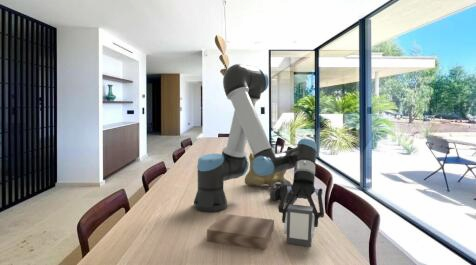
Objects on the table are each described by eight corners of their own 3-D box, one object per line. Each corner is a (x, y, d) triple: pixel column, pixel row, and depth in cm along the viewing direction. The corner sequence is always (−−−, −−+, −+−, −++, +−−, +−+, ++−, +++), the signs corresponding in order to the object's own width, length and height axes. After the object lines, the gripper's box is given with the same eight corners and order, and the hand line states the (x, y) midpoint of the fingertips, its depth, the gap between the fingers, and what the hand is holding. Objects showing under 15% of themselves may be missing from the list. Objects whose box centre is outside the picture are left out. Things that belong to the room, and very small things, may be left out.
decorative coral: (232, 161, 185) (265, 136, 182) (253, 186, 192) (285, 162, 189) (237, 181, 161) (275, 153, 158) (261, 208, 168) (298, 182, 165)
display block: (207, 240, 104) (207, 229, 103) (222, 223, 119) (222, 213, 118) (264, 249, 98) (265, 237, 97) (273, 230, 113) (274, 219, 113)
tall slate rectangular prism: (286, 243, 102) (287, 208, 101) (288, 237, 107) (289, 204, 106) (310, 247, 100) (312, 211, 99) (311, 240, 105) (312, 206, 103)
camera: (274, 204, 143) (275, 183, 142) (267, 198, 153) (267, 178, 152) (300, 202, 146) (301, 182, 145) (292, 196, 156) (292, 177, 155)
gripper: (275, 167, 114) (265, 225, 100) (334, 171, 108) (332, 233, 94) (277, 178, 120) (268, 234, 106) (333, 182, 114) (331, 242, 100)
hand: (298, 233), depth 100 cm, fingers closed on tall slate rectangular prism, 8 cm apart
